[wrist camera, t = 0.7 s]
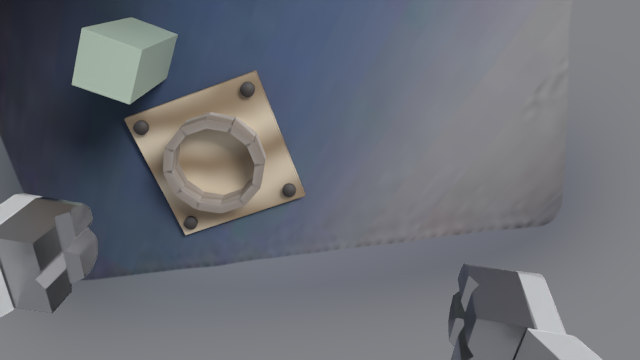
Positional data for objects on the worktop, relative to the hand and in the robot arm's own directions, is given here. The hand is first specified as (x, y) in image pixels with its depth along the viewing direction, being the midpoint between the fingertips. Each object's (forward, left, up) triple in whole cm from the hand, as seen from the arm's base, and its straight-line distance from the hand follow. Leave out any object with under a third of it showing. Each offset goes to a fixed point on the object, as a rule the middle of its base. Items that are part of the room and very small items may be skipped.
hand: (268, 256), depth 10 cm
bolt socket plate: (+10, -14, -45) cm, 48 cm away
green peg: (-4, -16, -45) cm, 47 cm away
